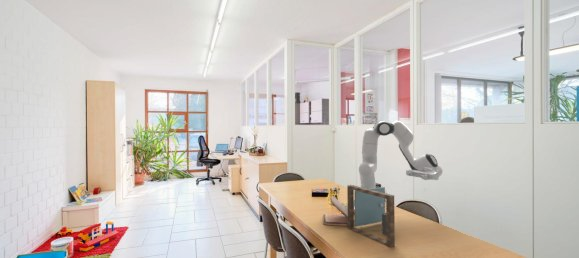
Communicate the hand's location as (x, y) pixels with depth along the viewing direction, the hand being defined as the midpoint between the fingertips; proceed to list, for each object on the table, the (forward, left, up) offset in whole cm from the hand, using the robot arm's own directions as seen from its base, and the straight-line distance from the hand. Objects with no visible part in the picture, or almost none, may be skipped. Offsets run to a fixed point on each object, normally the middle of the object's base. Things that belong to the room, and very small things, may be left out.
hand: (414, 175), depth 179 cm
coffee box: (-46, +15, -32) cm, 58 cm away
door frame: (-3, -43, -32) cm, 54 cm away
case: (-33, -40, -32) cm, 61 cm away
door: (-13, -29, -31) cm, 44 cm away
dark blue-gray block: (+1, -30, -32) cm, 44 cm away
